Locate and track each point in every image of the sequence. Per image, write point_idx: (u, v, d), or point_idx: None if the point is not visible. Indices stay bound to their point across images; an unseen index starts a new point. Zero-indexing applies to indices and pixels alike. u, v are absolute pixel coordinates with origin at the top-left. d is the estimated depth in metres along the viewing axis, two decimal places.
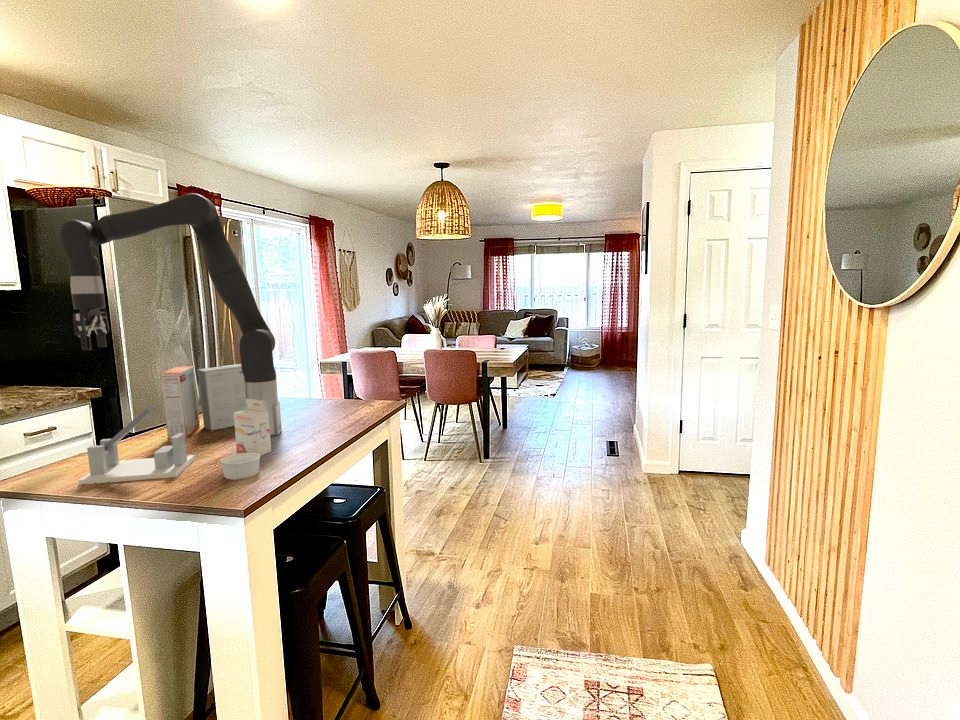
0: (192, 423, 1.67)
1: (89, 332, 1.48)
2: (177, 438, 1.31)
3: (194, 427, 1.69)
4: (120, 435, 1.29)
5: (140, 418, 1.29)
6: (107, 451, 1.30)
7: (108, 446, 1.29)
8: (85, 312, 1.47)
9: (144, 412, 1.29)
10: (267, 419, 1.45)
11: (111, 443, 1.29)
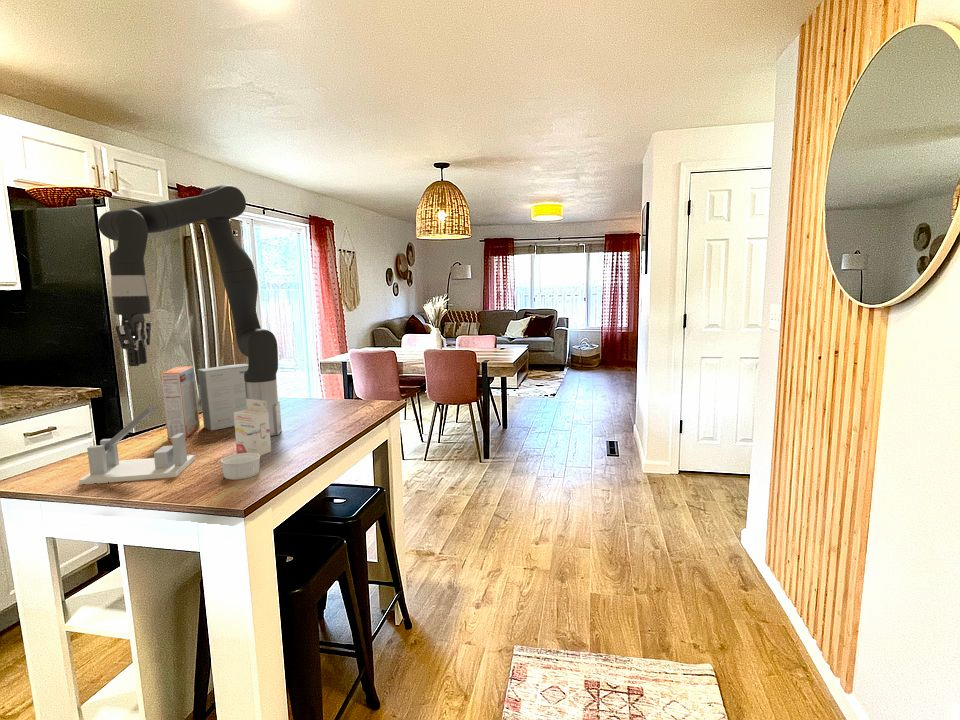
0: (192, 423, 1.67)
1: (137, 345, 1.27)
2: (177, 438, 1.31)
3: (194, 427, 1.69)
4: (120, 435, 1.29)
5: (140, 418, 1.29)
6: (107, 451, 1.30)
7: (108, 446, 1.29)
8: (128, 320, 1.24)
9: (144, 412, 1.29)
10: (267, 419, 1.45)
11: (111, 443, 1.29)
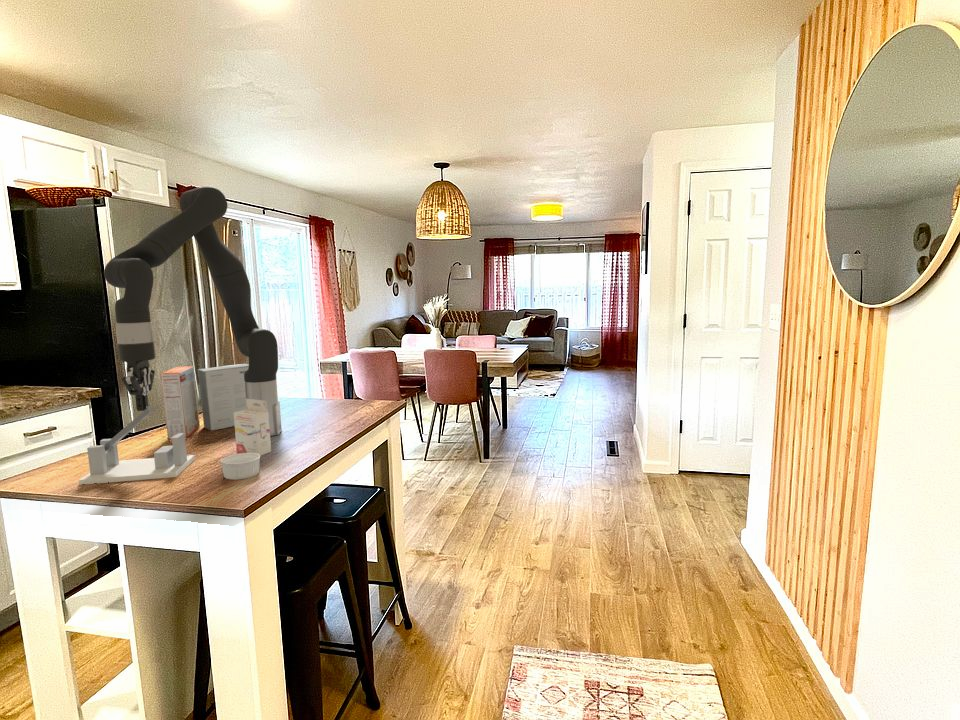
0: (192, 423, 1.67)
1: (144, 390, 1.30)
2: (177, 438, 1.31)
3: (194, 427, 1.69)
4: (120, 435, 1.29)
5: (140, 418, 1.29)
6: (107, 451, 1.30)
7: (108, 446, 1.29)
8: (133, 368, 1.25)
9: (144, 412, 1.29)
10: (267, 419, 1.45)
11: (111, 443, 1.29)
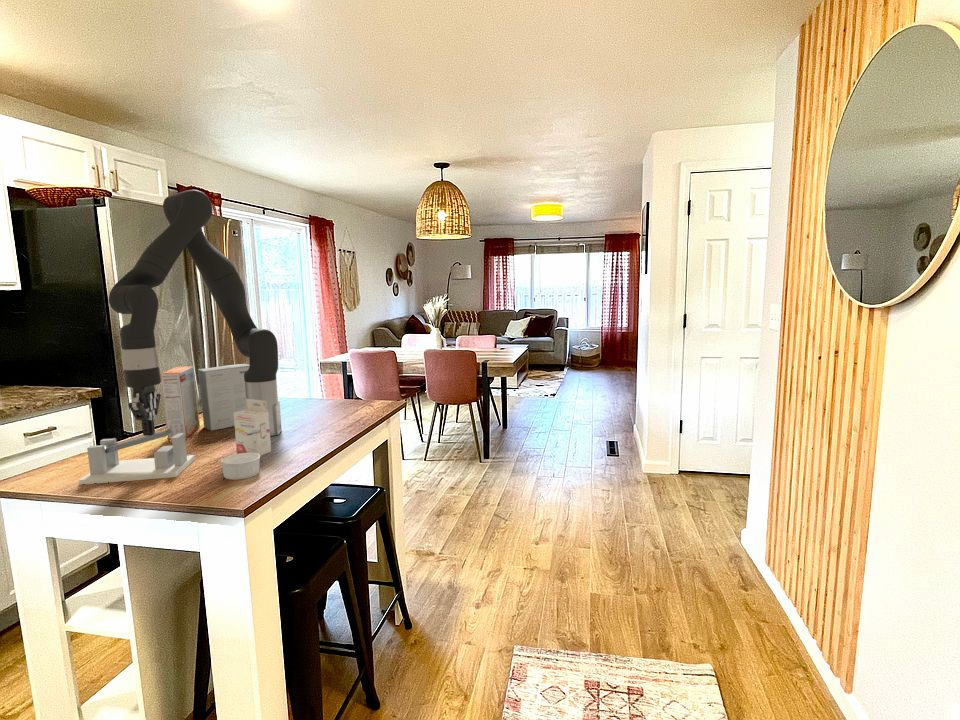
0: (192, 423, 1.67)
1: (150, 415, 1.30)
2: (177, 438, 1.31)
3: (194, 427, 1.69)
4: (127, 445, 1.30)
5: (153, 438, 1.31)
6: (106, 453, 1.30)
7: (110, 450, 1.29)
8: (139, 394, 1.26)
9: (160, 434, 1.31)
10: (267, 419, 1.45)
11: (115, 449, 1.29)
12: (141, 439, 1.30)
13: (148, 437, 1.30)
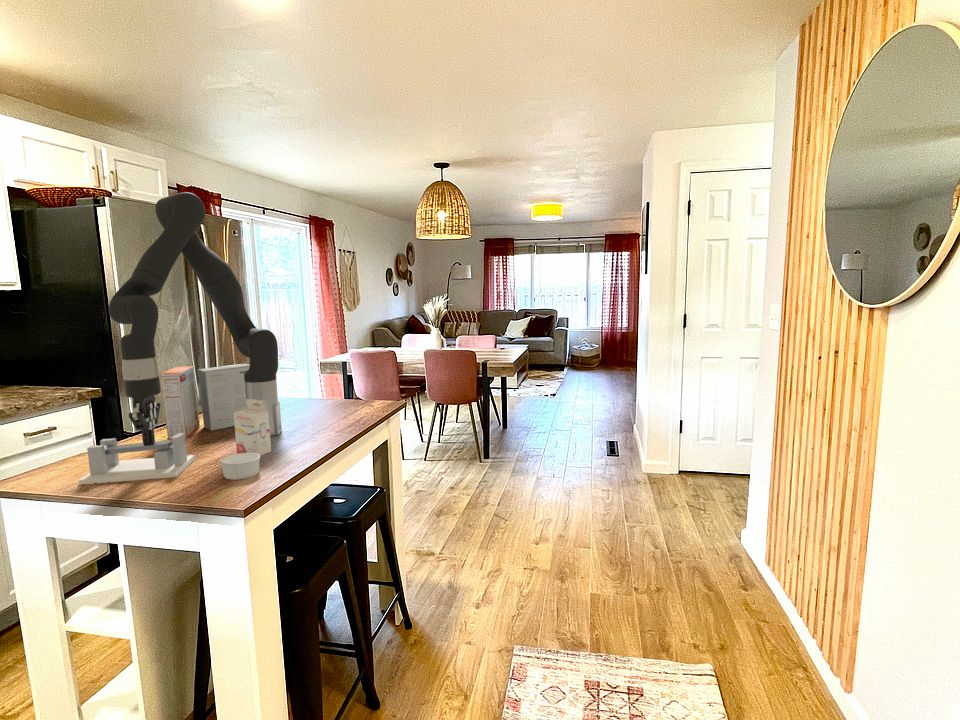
0: (192, 423, 1.67)
1: (150, 424, 1.31)
2: (177, 438, 1.31)
3: (194, 427, 1.69)
4: (128, 450, 1.30)
5: (156, 448, 1.31)
6: None
7: (111, 452, 1.29)
8: (139, 404, 1.26)
9: (163, 445, 1.31)
10: (267, 419, 1.45)
11: (115, 452, 1.29)
12: (143, 447, 1.30)
13: (151, 446, 1.31)
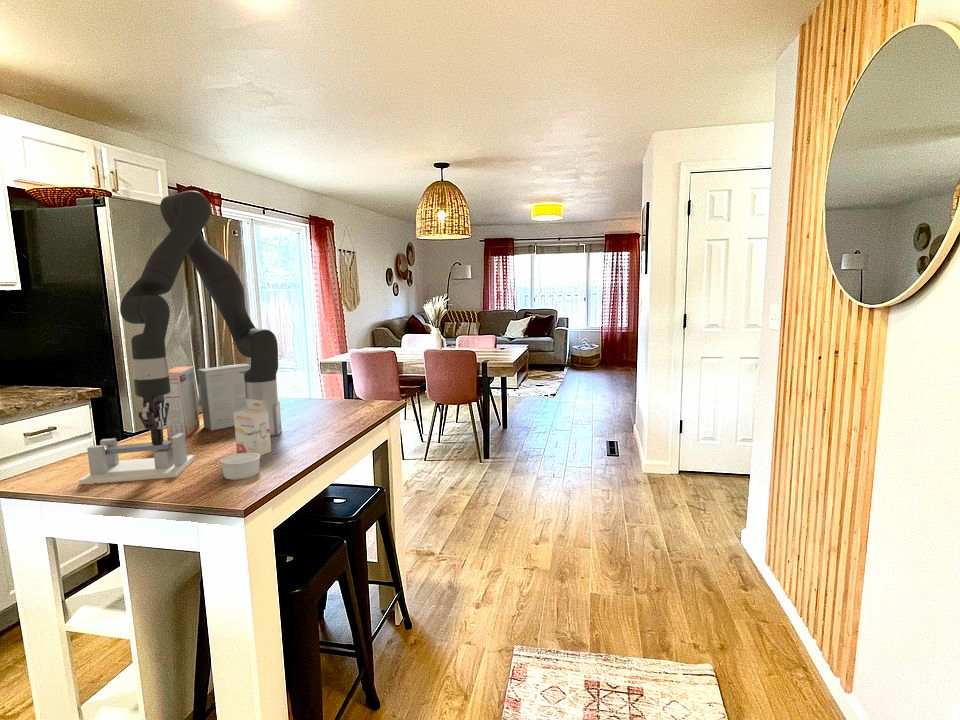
0: (192, 423, 1.67)
1: (159, 424, 1.31)
2: (177, 438, 1.31)
3: (194, 427, 1.69)
4: (128, 451, 1.30)
5: (156, 448, 1.31)
6: None
7: (111, 452, 1.29)
8: (149, 404, 1.27)
9: (163, 446, 1.31)
10: (267, 419, 1.45)
11: (115, 452, 1.29)
12: (143, 447, 1.30)
13: (151, 447, 1.31)
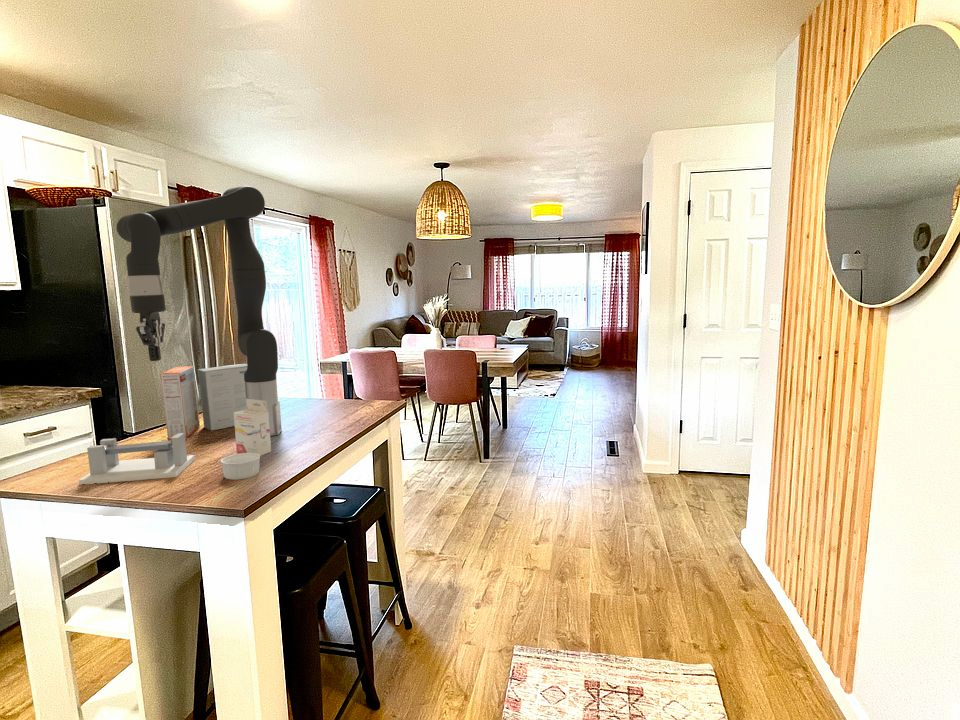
0: (192, 423, 1.67)
1: (156, 341, 1.35)
2: (177, 438, 1.31)
3: (194, 427, 1.69)
4: (128, 451, 1.30)
5: (156, 448, 1.31)
6: None
7: (111, 452, 1.29)
8: (146, 319, 1.31)
9: (163, 446, 1.31)
10: (267, 419, 1.45)
11: (115, 452, 1.29)
12: (143, 447, 1.30)
13: (151, 447, 1.31)
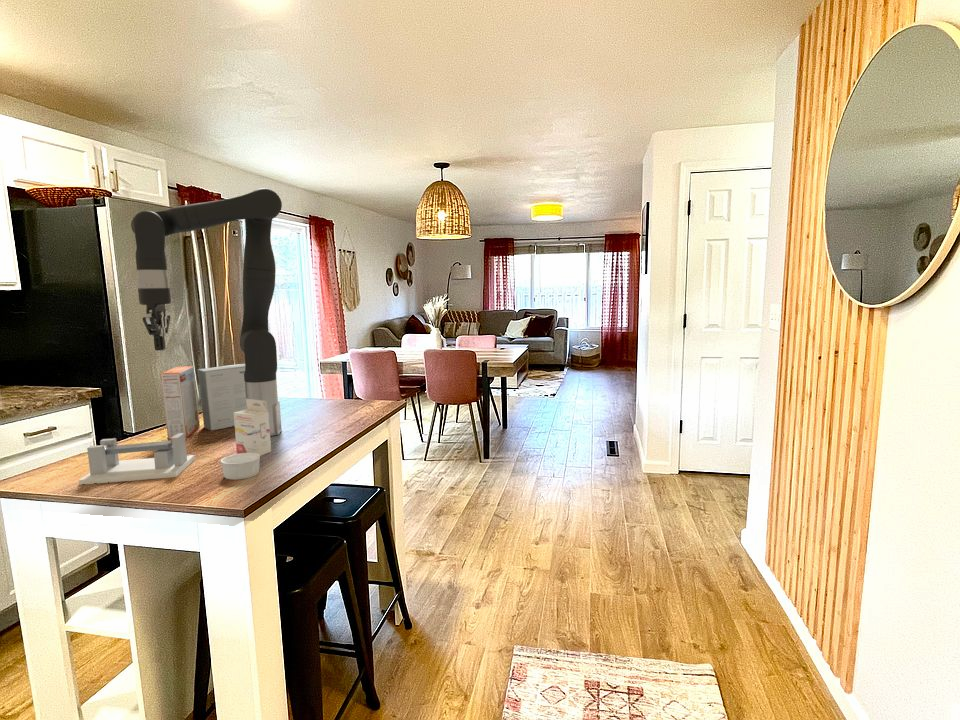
0: (192, 423, 1.67)
1: (162, 331, 1.44)
2: (177, 438, 1.31)
3: (194, 427, 1.69)
4: (128, 451, 1.30)
5: (156, 448, 1.31)
6: None
7: (111, 452, 1.29)
8: (152, 310, 1.40)
9: (163, 446, 1.31)
10: (267, 419, 1.45)
11: (115, 452, 1.29)
12: (143, 447, 1.30)
13: (151, 447, 1.31)
